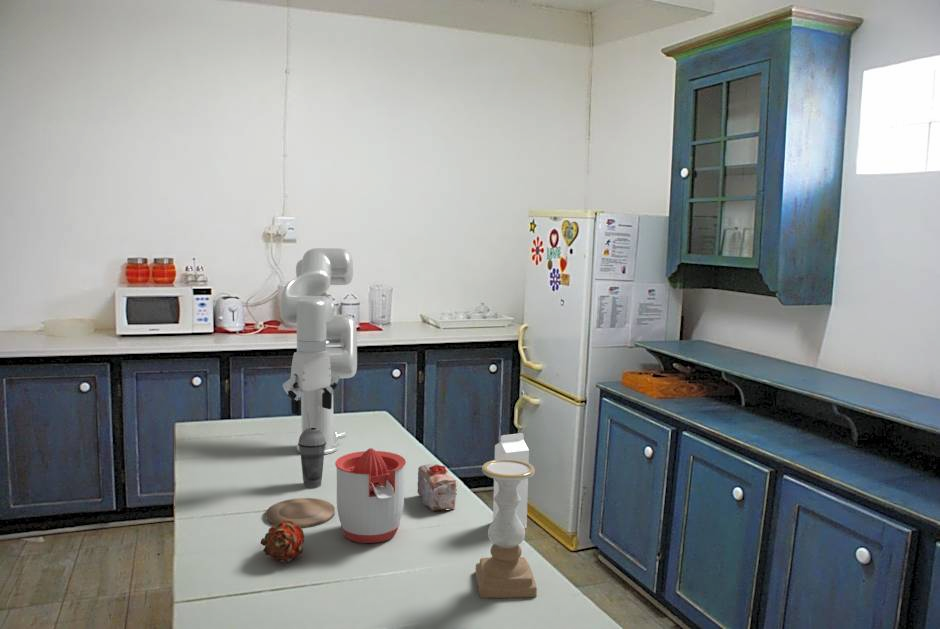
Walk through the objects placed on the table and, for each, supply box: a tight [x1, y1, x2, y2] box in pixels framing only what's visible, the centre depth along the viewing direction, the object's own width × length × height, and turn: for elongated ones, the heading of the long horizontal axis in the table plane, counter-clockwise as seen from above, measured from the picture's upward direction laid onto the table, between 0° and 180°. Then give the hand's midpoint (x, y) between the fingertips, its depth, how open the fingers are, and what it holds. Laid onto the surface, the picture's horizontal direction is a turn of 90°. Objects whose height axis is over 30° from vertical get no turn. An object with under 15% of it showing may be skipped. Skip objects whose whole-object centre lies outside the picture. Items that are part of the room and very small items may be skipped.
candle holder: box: [474, 459, 538, 599], centre depth 146 cm, size 11×11×24 cm
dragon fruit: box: [260, 520, 305, 563], centre depth 156 cm, size 8×8×12 cm
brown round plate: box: [265, 497, 336, 529], centre depth 179 cm, size 16×16×1 cm
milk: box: [492, 432, 530, 529], centre depth 174 cm, size 6×6×22 cm
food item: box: [417, 463, 458, 511], centre depth 188 cm, size 14×8×10 cm, turn 22°
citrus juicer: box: [334, 447, 407, 544], centre depth 167 cm, size 16×17×20 cm
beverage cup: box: [297, 411, 326, 489], centre depth 197 cm, size 7×7×20 cm
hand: (311, 411), depth 196 cm, fingers open, 9 cm apart
